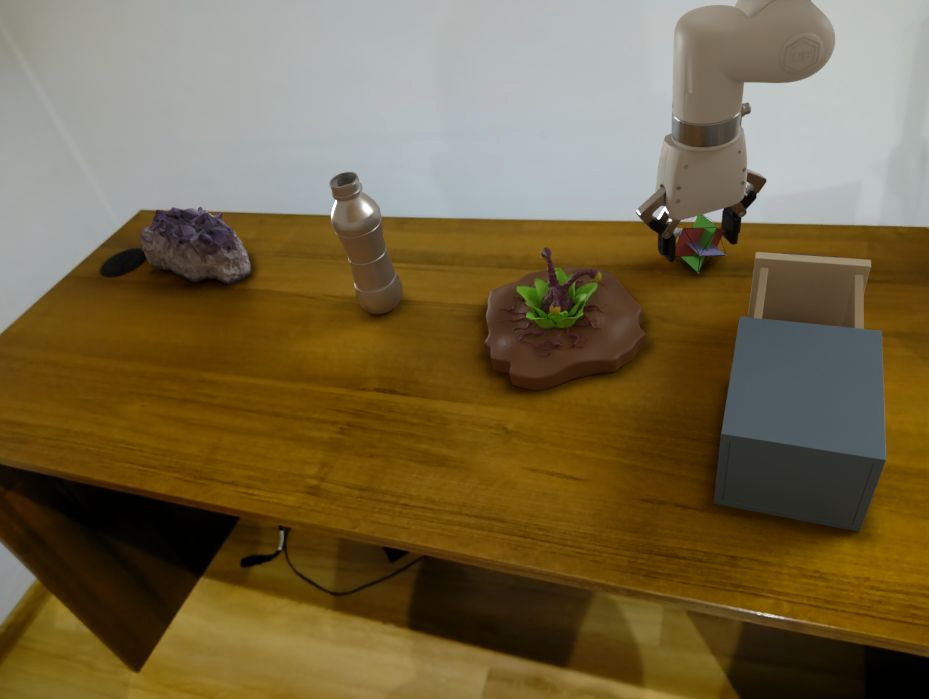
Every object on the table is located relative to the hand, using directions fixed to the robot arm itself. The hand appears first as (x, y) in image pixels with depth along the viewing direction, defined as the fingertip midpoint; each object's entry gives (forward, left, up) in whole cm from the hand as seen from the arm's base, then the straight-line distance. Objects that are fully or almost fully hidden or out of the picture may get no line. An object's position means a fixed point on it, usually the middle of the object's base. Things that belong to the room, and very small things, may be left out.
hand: (698, 247), depth 94 cm
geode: (+68, -34, -3) cm, 76 cm away
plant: (+21, +5, -3) cm, 22 cm away
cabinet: (+6, +32, -2) cm, 33 cm away
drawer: (-2, +20, -2) cm, 20 cm away
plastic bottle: (+42, -10, -3) cm, 43 cm away
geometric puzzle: (0, 0, -3) cm, 3 cm away
